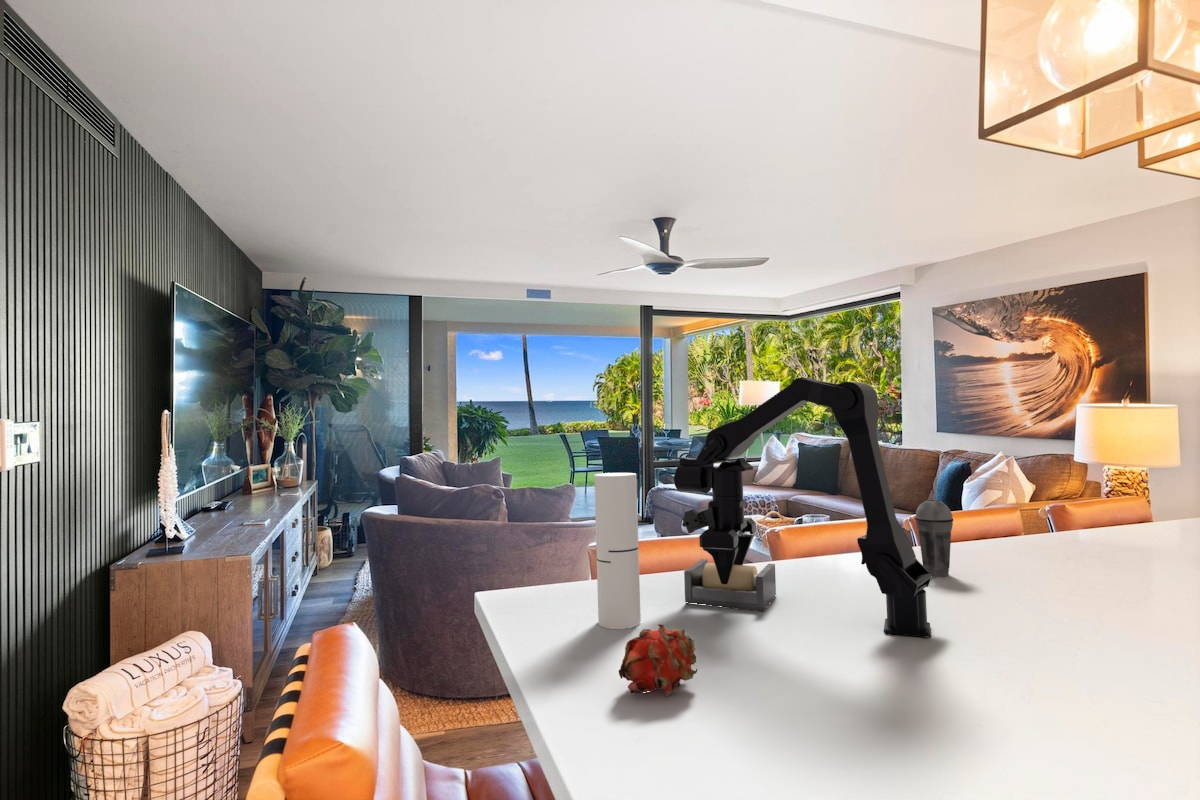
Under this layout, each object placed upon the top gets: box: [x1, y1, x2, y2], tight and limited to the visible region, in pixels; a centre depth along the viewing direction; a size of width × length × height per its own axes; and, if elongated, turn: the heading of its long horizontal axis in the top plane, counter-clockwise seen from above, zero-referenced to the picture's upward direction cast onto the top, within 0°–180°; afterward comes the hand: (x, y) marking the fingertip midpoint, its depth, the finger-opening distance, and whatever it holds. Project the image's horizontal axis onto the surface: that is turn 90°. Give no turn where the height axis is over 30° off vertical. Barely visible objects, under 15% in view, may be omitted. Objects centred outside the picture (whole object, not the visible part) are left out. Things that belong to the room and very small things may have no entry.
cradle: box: [683, 558, 777, 612], centre depth 124 cm, size 14×11×6 cm
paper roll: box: [703, 562, 759, 591], centre depth 124 cm, size 10×6×6 cm, turn 64°
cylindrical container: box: [593, 472, 642, 630], centre depth 112 cm, size 7×7×25 cm
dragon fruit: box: [618, 623, 698, 696], centre depth 84 cm, size 8×8×12 cm
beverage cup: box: [914, 478, 954, 578], centre depth 139 cm, size 7×7×20 cm
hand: (730, 578), depth 124 cm, fingers open, 9 cm apart
